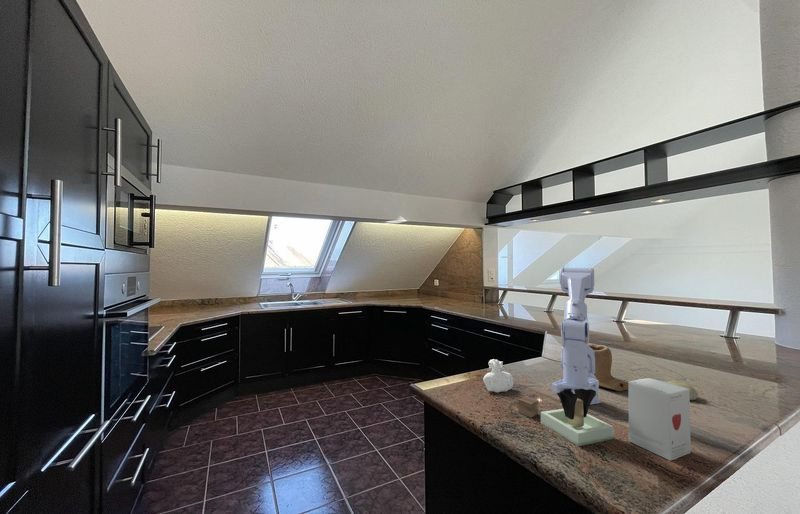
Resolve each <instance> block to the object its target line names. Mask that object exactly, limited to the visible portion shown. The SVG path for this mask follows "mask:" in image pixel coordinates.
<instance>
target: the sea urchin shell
mask: <svg viewBox="0 0 800 514" xmlns="http://www.w3.org/2000/svg"><path fill="white" fill-rule="evenodd" d="M665 382H666V383H669V384H673V385H677V386H680V387H684V388H687V389H689V398H690V401H695V400H697V399H698V396H699V395H698V392H697V390H696V389H695V388H694V387H693V386H692V385H690V384H688V383H686V382H683V381H679V380H669V381H665Z"/></svg>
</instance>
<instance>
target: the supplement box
mask: <svg viewBox="0 0 800 514" xmlns="http://www.w3.org/2000/svg"><path fill="white" fill-rule="evenodd" d="M627 382H628V383H629V389H628V442H630V443H632V444H634V445H636V446H638V447H640V448H643V449H644V450H647V451H648V452H651V453H653V454H656V455H657V456H660V457H662V458H664V459H666V460H668V461H673V460H677V459H678V458H680V457H684V456H686V455H689V454H691V448H692V447H691V445H692V444H691V407H690V406H691V405H690V403H691V402H690V401H691V400H690V398H689V389H687V388H684V387H680V386H677V385H673V384H669V383H666V382H667V381H661V380H658V379H655V378H652V377H647V378H639V379H636V380H629V381H627Z"/></svg>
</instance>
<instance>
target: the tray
mask: <svg viewBox="0 0 800 514" xmlns="http://www.w3.org/2000/svg"><path fill="white" fill-rule="evenodd" d="M540 424H541V425H544V426H545V427H546V428H547V429H549V430H551V431H553V432H554V433H556V434H557V435H559V436H560V437H563V438H564V439H566V440H567V441H569V442H571V443H572V444H573V445H576V446H577V447H582V446H586V445H587V446H588V445H591V444H598V443H601V442H605V441H606V442H607V441H610V440H615V426H614V425H611V424H609V423H607V422H605V421H603V420H601V419H599V418H597V417H595V416H592V415H591V414H588V413H587V416H586V417H584V426H582V427H576V426H572V425H570V424H568V423H567V417H565V413H564V409H563V408H559V409H552V410H546V411H541V412H540Z"/></svg>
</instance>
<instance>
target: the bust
mask: <svg viewBox="0 0 800 514" xmlns="http://www.w3.org/2000/svg"><path fill="white" fill-rule="evenodd" d="M503 363H504V361H500V360H498V359H494V358H493V359H490V360H489V361H488V366H489V367H488V368H489V369H491V371H490V372H487V373H486V374H485V375H483V383H484V384H485V387H486V390H488V392H494V393H500V392H508V391H509V390H511V389H512V388H513V387H514V377H513V375H512V374H511V373H509V372H507V371H502V368H503Z"/></svg>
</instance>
